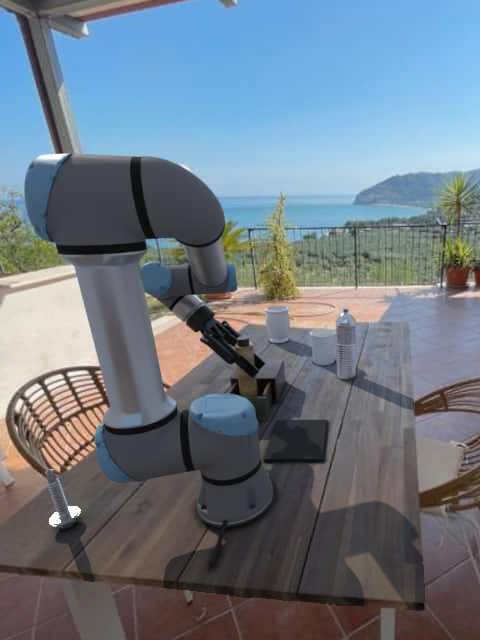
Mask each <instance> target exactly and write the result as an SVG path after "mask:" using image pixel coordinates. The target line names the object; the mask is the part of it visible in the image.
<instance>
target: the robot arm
mask: <svg viewBox="0 0 480 640" xmlns="http://www.w3.org/2000/svg"><path fill="white" fill-rule="evenodd" d="M23 186H24V187H23V193H24V194H23V195H24V204H25V209H26V213H27V214H26V215H27V217H28V221H29V223H30V225H31V226H32V227H33V230H34V233H35V234H36V235H37V236H38V237H39V238H40V239H41V240H42V241H45V242H48V243H52V244H55V247H56V252H57V254H58V256H59V257H60V258H61V259H64V260H65V261H67V262H68V263H69V264H71V266H73V268H74V270H75V274H76V278H77V282H78V287H79V291H80V295H81V298H82V302H83V306H84V309H85V313H86V317H87V322H88V326H89V329H90V334H91V337H92V341H93V344H94V349H95V352H96V353H95V354H96V356H97V361H98V365H99V368H100V372H101V373H100V374H101V376H102V380H103V384H104V388H105V391H106V396H107V399H108V400H107V401H108V404H109V407H108V409H107V410H106V411H105V412H104V413H103V415H102V421H101V422H99V424H98V425H97V427H96V429H95V432H94V446H95V450H94V451H95V457H96V459H97V462H98V465H99V467H100V469H101V471H102V473H103V474H104V475H105V477H106V478H107V479H109V480H110V481H111V482H114V483H118V484H125V483H132V482H135V483H141V482H144V481H146V480H150V479H157V478H162V477H167V476H173V475H179V474H184V473H189V472H195V471H200V475H201V476H200V477H201V478H200V483H199V486H198V492H197V495H196V510H197V515H198V517H199V518H200V520H201V521H202V522H203V523H204V524H206V525H208V526H211V527H213V528H217V529H220V531H219V534H218V538H217V541H216V545H215V547H214V548H215V549H214V551H213V554H212V557H211V560H210V562H209V566H212V567H213V566H215V565H216V561H217V558H218V556H219V554H220V550H221V547H222V542H223V539H224V534H225V531H226V529H233V528H238V527H242V526H245V525H247V524H249V523H252V522H254V521H256V520H258V518H260V517H261V516H263V515H264V514H265V513H266V512H267V511H268V509H269V508H270V507H271V505H272V503H273V500H274V495H275V493H274V486H273V482H272V479H271V478H270V476H269V474H268V473H267V471H266V469H265V467H264V465H263V463H262V456H261V454H262V453H261V447H260V440H259V439H260V438H259V430H258V429H259V421H258V420H257V419H256V413H255V408H254V406H253V404H252V403H251V402H250V401H249V400H247V399H246V398H243V397H241V396H239V395H235V394H228V392H227V393H226V392H219V393H209V394H206V395H204V396H203V397H202V396H200V397H198V398H196V399H194V400H193V401H192V402H191V404H190V406H189V408H186V409H179V410H178V405H177V401H176V400H175V399H174V398H173V397H172V396H170V395H167V394H166V391H165V386H164V381H163V376H162V371H161V367H160V362H159V356H158V351H157V345H156V341H155V336H154V331H153V326H152V321H151V315H150V311H149V306H148V301H147V296H146V294H147V295H149V296H151V297H153V298H154V299H155V300H157V301H158V302H159V303H160V304H162V305H163V306H164V307H165V308H167V309H168V310H169V311H170V312H171V313H172V314H173V315H175V317H176V318H178V319H179V320H180V321H182V322H183V323H184V322H185V326H187V327H188V328H189V329H190V330H191V331H193V333H199V332H200V333H201V337H200V338H199V342H201V343H202V344H204V345H206V346H207V347H208V348H209V349H210V350H212V351H213V352H214V353H215V354H216V355H217V356H218V357H220V359H222V360H223V361H224V362H225V363H226V364H228V365H231V366H233V364H235V365H236V366H237V365H238V366H239V367H240V368H241V369H243V370H244V371H245V372H246V373H247V374H248V375H249V376H251V377H252V378H253V377H254V376H255V375H256V374H257V373H258V372H259V370H260V369H261V368H262V367H263V366H264V365H265V364H266V363H265V362H264V361H263V360H261V359H262V358H260V357H259V356H258V355H257V354H256V353H255V352H254V360H255V367H256V368H255V367H254V366H253V365H252V364H251V363H250V362H249V361H247V360H246V359H245V358H244V357H243V356H242V355H241V356H239V355H238V354H237V353H236V351H235V348H234V345H235V344H237V338H238V337H241V336H242V335H241V334H240V333H239V332H238V331H236V329H235V328H233V327H232V326H231V325H230V323H228V321H227V320H223V321H221V322H220V321H219V320H217V319H216V318H214V317H215V316H216V312H214V311H213V310H212V308H210V307H209V306H208V305H206V304H204V301H202V300H201V298H199V297H198V296H199V295H216V294H222V295H225V294H229V293H235V292H237V291H238V280H237V278H238V277H237V271H236V270H237V269H236V265H235V264H234V263H232V262H227V260H226V253H225V248H224V243H223V236H224V234H225V231H226V230H225V229H226V218H225V213H224V208H223V207H222V203H221V202H220V200H219V198H218V197H217V196H216V194H215V193H214V192H213V190H212V189H211V188H210V187H209V186H208V185H207V183H205V182H204V181H203V180H202V179H201V178H200V177H198V176H197V175H195V174H194V173H193V172H192V171H190V170H188V169H186V168H185V167H183V166H182V165H180V164H178V163H175V162H173V161H171V160H169V159H165V158H163V157H162V158H161V157H158V156H152V155H149V156H148V155H142V156H134V155H133V156H132V155H115V154H114V155H112V154H92V153H74V152H67V153H52V154H51V153H50V154H42V155H39V156H36V157H35V158H34V159H33V160H31V162H30V163H29V165H28V167H27V171H26V172H25V176H24V185H23ZM160 239H173V240H175V241H176V242H178V243H179V244H181V246H182V249H183V251H184V253H185V255H186V258H187V260H188V261H189V264H163V263H160V262H157V261H149V262H146V263H144V264H143V265H140V263H141V260H142V258H144V256H145V255H146V254H147V252H148V246H147V240H160ZM197 295H198V296H197Z"/></svg>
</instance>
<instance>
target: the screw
mask: <svg viewBox="0 0 480 640" xmlns="http://www.w3.org/2000/svg"><path fill="white" fill-rule="evenodd" d="M44 475H45V477H46V481H47V484H46V486H47V489H48V491H49V494H50V496H51V499H52V502H53V505H54V508H55V511H56V512H54V513H53V514H52V515H51V517H50V518H49V521H48V522H49V525H50V526H51V527H53V528H59V529H61V530H67V529H69V528H72V527H73V526H75V524H76V522H77V519H78V518H79V517H80V515H81V509H80V508H79V507H78V506H69V505H68V501H67V499H66V496H65V493H64V490H63V486H62V484H61V481H60V480H59V478H58V477H57V475H56V473H55V470H54V468H48V469H47V470H45V471H44Z"/></svg>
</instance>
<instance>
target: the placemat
mask: <svg viewBox="0 0 480 640" xmlns="http://www.w3.org/2000/svg"><path fill="white" fill-rule="evenodd" d="M327 425H328V419H277V421H276V423H275V427H274V429H273V432H272V435H271V438H270V441H269V444H268V447H267V450H266V452H265V455H264V458H263V462H265V463H269V462H270V463H272V462H273V463H275V462H279V463H280V462H281V463H282V462H284V463H285V462H288V463H289V462H323V458H324V452H325V451H324V450H325V441H326V434H327Z"/></svg>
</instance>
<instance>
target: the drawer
mask: <svg viewBox="0 0 480 640" xmlns="http://www.w3.org/2000/svg"><path fill="white" fill-rule="evenodd" d="M257 389H258V396H253V397H243V398H246V399H247V400H249V401H250V402H251V403H252V404H253V406H254V408H255V413H256V419H257V421H258V420H268V419H269V410H270V408H271V405H272V404H273V403H272V400H273V398H274V389H273V381H257ZM227 393H228V394H235V395H239V396H240V389H239V381H235V382H234V384H233V385H232V387H231V386H230V388H229V390H228V392H227Z"/></svg>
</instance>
